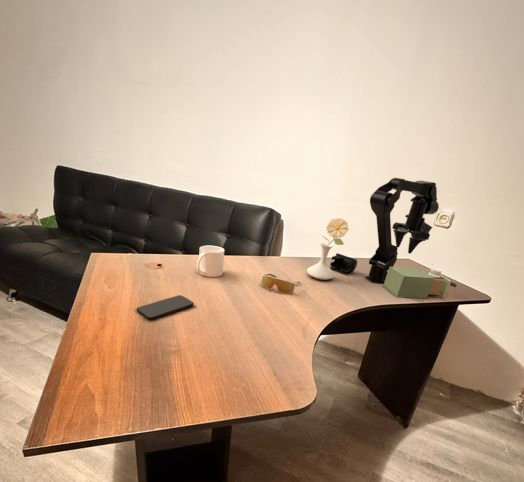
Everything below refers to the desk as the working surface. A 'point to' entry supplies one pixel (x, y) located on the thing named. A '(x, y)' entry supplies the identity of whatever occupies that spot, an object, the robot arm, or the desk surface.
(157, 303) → the smartphone
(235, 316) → the desk surface
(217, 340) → the desk surface
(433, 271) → the pill bottle
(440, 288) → the drawer
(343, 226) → the flower in vase
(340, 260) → the end cap
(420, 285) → the cabinet
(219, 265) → the mug
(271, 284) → the sunglasses
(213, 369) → the desk surface
